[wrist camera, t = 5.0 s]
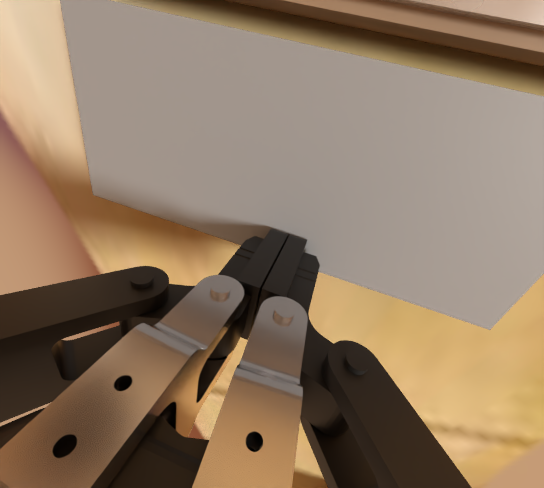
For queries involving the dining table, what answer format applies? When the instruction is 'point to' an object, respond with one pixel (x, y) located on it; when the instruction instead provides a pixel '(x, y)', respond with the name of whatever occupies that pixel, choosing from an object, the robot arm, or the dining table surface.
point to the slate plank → (316, 154)
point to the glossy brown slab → (437, 22)
